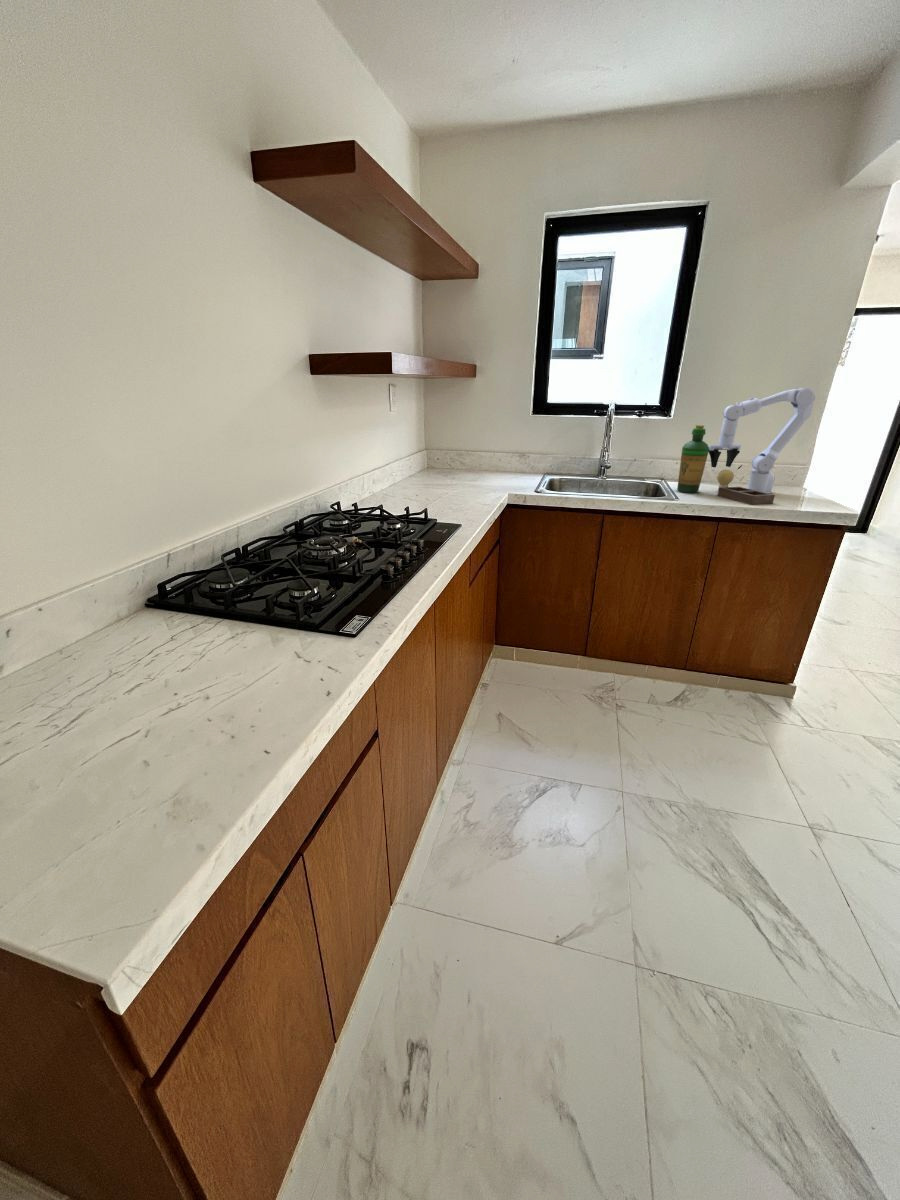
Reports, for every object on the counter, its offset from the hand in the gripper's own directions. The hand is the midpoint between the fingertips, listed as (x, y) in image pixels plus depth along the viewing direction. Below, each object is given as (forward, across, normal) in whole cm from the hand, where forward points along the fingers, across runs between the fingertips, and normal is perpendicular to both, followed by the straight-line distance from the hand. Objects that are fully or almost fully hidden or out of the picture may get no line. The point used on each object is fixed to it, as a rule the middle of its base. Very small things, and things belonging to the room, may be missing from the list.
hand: (720, 466), depth 222 cm
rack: (+10, -3, -20) cm, 23 cm away
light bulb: (+11, -1, -5) cm, 12 cm away
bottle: (+11, -15, 0) cm, 18 cm away
